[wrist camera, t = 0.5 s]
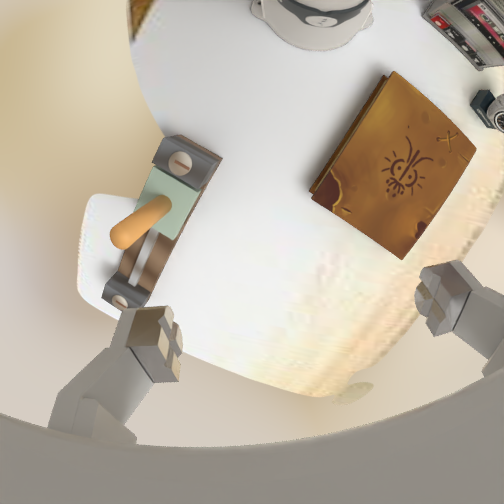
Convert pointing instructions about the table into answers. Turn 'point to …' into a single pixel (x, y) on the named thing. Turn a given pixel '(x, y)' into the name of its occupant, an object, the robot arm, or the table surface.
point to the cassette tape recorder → (471, 28)
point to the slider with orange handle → (157, 209)
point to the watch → (489, 109)
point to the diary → (394, 166)
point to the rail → (153, 242)
